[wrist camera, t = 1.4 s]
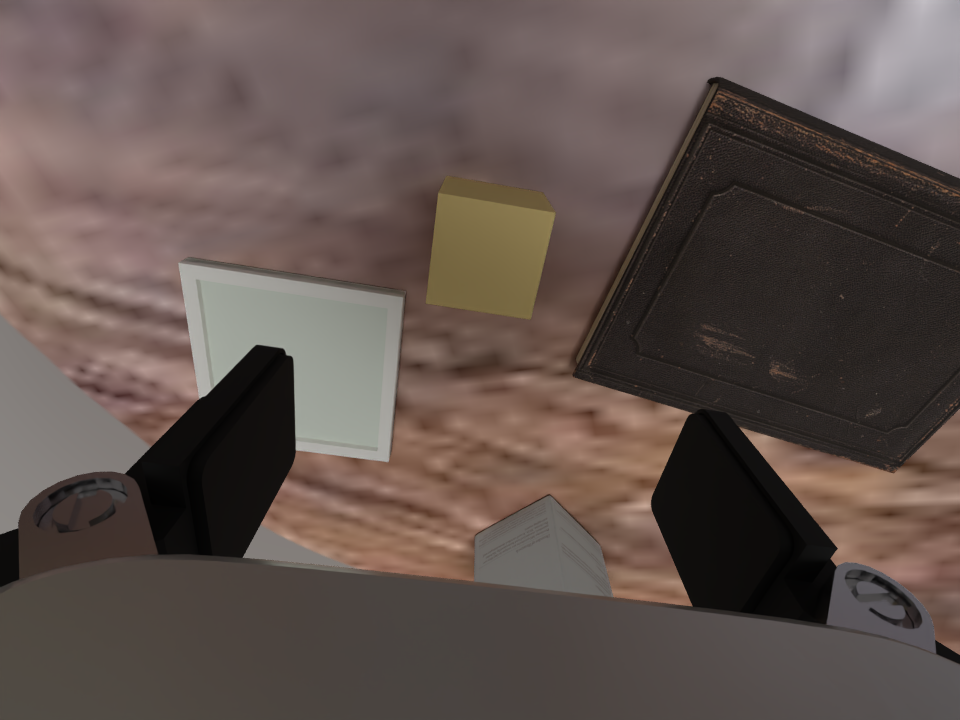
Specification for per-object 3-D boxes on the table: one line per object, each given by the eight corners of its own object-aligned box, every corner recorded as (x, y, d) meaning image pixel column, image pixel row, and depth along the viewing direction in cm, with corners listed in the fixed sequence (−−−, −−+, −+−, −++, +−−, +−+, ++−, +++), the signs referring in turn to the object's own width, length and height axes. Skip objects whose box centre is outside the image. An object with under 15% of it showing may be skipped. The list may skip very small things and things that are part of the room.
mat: (188, 257, 26) (178, 262, 25) (405, 291, 27) (403, 297, 26) (213, 429, 32) (205, 438, 31) (391, 452, 33) (388, 461, 32)
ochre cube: (446, 175, 24) (438, 192, 19) (542, 192, 24) (555, 213, 20) (435, 269, 26) (425, 303, 22) (523, 283, 27) (530, 319, 22)
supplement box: (471, 534, 37) (466, 722, 26) (551, 491, 34) (582, 678, 23) (526, 582, 39) (542, 771, 28) (603, 545, 37) (653, 735, 26)
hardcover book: (869, 451, 33) (894, 474, 31) (567, 358, 30) (573, 377, 27) (1076, 234, 25) (1126, 245, 23) (704, 77, 22) (726, 74, 20)
